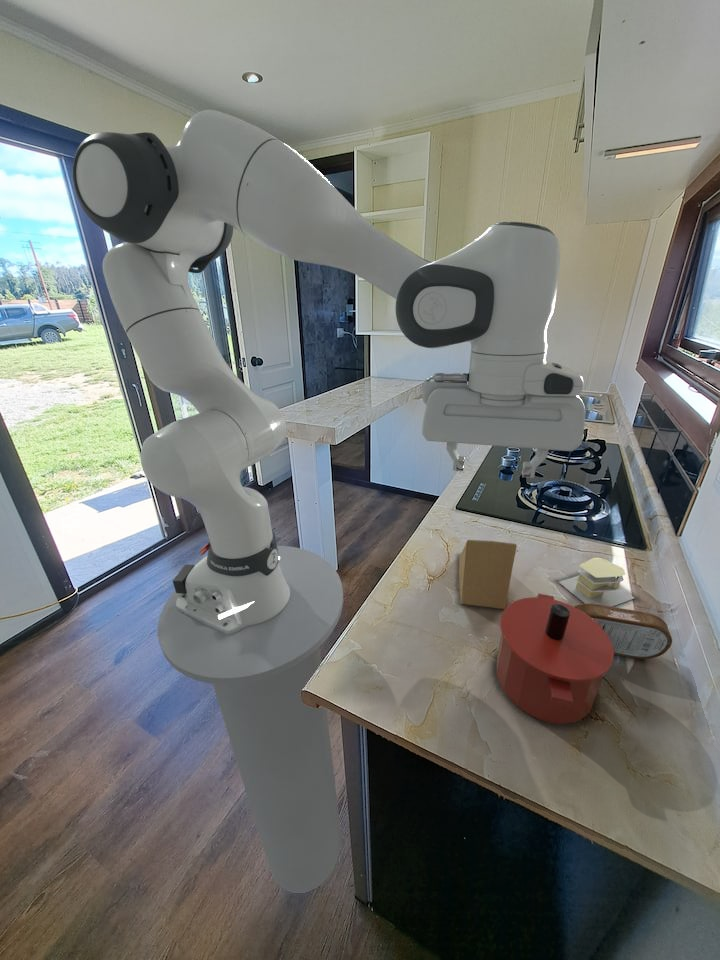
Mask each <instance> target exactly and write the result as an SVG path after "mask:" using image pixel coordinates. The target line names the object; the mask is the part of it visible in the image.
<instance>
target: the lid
mask: <svg viewBox="0 0 720 960" xmlns="http://www.w3.org/2000/svg"><path fill="white" fill-rule="evenodd" d="M499 623H500V624H499V626H500V632H501V633H502V636H503V638H504V640H505V642H506V644H507V645H508V647H509V648H510V649H511V651H512V652H513V653H514V654H515V655H516V656H517V657H518V658H519V659H520V660H521V661H523V662H524V663H525V664H527V665H528V666H529V667H531V668H533V669H534V670H536V671H538V672H540V673H542V674H544V675H547V676H549V677H552V678H555V679H559V680H563V681H569V682H587V681H592V680H595V679H598V678H600V677H601V676H603V677H604V676H605V675H606V674H607V673H608V672H609V670H610V669H611V668H612V666H613V662H614V658H615V654H614V650H613V646H612V643H611V641H610V639H609V637H608V635H607V634H606V632H605V631H604V630H603V629H602V627H601V626H600V625H599V624H598V623H597V622H596V621H595V620H593V619H592V618H591V617H590V616H588V615H587V614H585V613H584V612H582V611H581V610H579V609H577V608H575V607H573V605H571V604H568V603H566V602H563V601H560V600H557V599H554V600H553V599H549V598H540V597H537V596H536V597H535V596H534V597H532V596H531V597H524V598H520V599H518V600H515V601H513V602H511V603H510V604H509V605H508V606H506V607H505V609H503V612H502V614H501V617H500V621H499Z"/></svg>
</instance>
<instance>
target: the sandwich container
mask: <svg viewBox="0 0 720 960" xmlns="http://www.w3.org/2000/svg"><path fill="white" fill-rule="evenodd" d="M517 547H518V545H517V544H516V543H513V542H505V541H497V540H496V541H494V540H481V539H467V540H466V543H465V545H464V548H463V550H462V551H461V552H460V555H459V558H458V559H459V560H458V561H459V562H458V564H459V565H458V576H459V580H458V581H459V595H460V597H459V598H460V604H461V605H466V606H467V605H469V606H474V607H482V608H483V607H484V608H492V609H500V610H505V609H506V604H507V599H508V595H509V588H510V583H511V578H512V573H513V568H514V562H515V557H516V552H517Z"/></svg>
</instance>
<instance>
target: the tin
mask: <svg viewBox="0 0 720 960" xmlns="http://www.w3.org/2000/svg"><path fill="white" fill-rule="evenodd" d="M572 606H573V605H572ZM573 607H575V608H577V609H579V610H581V611H582V612H584V613H585V614H587V615H588V616H590V617H591V618H592V619H593V620H595V621H596V622H597V623H598V624H599V625H600V626H601V627H602V629H603V630H604V631H605V632H606V634H607V635H608V637H609V639H610V641H611V643H612V646H613V650H614V655H616V656H621V657H626V658H632V659H637V660H651V659H655V658H658V657H660V656H663V655H664V654H666V653H667V652H668V651H669V649H670V648H671V647H672V644H673V637H672V635H671V632H670V631H669V627H668V624H667V623H666V622H665V620H664V619H663V618H661V617H659V616H658V615H656V614H653V613H650V612H646V611H641V610H636V609H635V610H634V609H628V608H623V607H617V606H612V607H611V606H606V605H600V604H594V603H580V604H576V605H574V606H573Z"/></svg>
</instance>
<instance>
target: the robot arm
mask: <svg viewBox="0 0 720 960" xmlns="http://www.w3.org/2000/svg"><path fill="white" fill-rule="evenodd" d="M72 162H73V163H72V182H73V183H72V184H73V187H74V192H75V195H76V198H77V200H78V203H79V205H80V207H81V208H82V211H83V212H84V214H86V216H87V217H88V218H89V219H90V220H91V221H92V222H93V223H94V224H95V225H96V226H97V227H99V228H100V229H101V230H102V231H104V232H105V233H107V234H109V235H111V236H113V237H115V238H116V239H118V240H120V241H121V242H120V243H117V244H116V245H114V246H113V247H111V248H109V250H108V251H107V252H106V254H105V255H104V257H103V260H102V273H103V277H104V281H105V284H106V287H107V290H108V294H109V296H110V299H111V302H112V304H113V308H114V309H115V312H116V315H117V316H118V319H119V322H120V324H121V326H122V327H123V330H124V332H125V334H126V336H127V337H128V340H129V342H130V343H131V346H132V348H133V350H134V351H135V353H136V355H137V357H138V359H139V362H140V364H141V365H142V367H143V369H144V371H145V373H146V375H147V377H148V379H149V380H150V382H151V383H152V384H153V385H154V386H156V387H157V388H158V389H159V390H161V391H163V392H166V393H170V394H173V395H177V396H180V397H181V398H183V399H185V400H186V401H187V402H188V403H189V404H191V405H192V407H194V409H195V410H196V411H197V412H198V413H195V414H193V415H190V416H188V417H183V418H181V419H178V420H175V421H172V422H170V423H168V424H167V425H165V426H164V427H161V428H160V429H159V430H157V431H155V432H154V433H152V434H151V435H150V436H148V437H147V438H145V439H144V441H143V443H142V446H141V451H140V452H141V453H140V463H141V467H142V471H143V473H144V475H145V476H146V478H147V480H148V482H150V484H151V485H153V486H154V487H155V489H157V490H158V491H160V492H161V493H163V494H165V495H167V496H170V497H174V498H179V499H182V500H185V501H187V502H188V503H190V504H191V505H192V506H193V507H194V508H195V509H196V510H197V511H198V513H199V514H200V518H202V521H203V524H204V527H205V531H206V533H207V537H208V541H207V542H206V544H205V545H204V546H203V547H202V548H201V549H200V550H199V552H201V553H200V556H201V557H203V555H204V554H206V553H207V555H205V556H204V557H203V558H201V560H199V561H198V562H197V563H196V564H183V567H182V568H181V569H180V570H179V572H178V573H177V575H176V576H175V577H174V578H173V580H172V584H173V587H174V591H176V593H180V595H179V597H178V599H177V601H176V609H177V610H179V611H180V612H182V613H184V614H186V615H188V616H190V617H192V618H194V619H196V620H198V621H200V622H202V623H204V624H206V625H208V626H210V627H212V628H214V629H216V630H218V631H220V632H222V633H224V634H226V635H230V634H233V633H236V632H238V631H239V630H241V629H243V628H245V627H248V626H252V625H256V624H259V623H262V622H265V621H267V620H269V619H271V618H273V617H274V616H276V615H277V614H278V613H279V612H281V611H282V610H283V609H284V607H285V606H286V605H287V603H288V601H289V598H290V587H289V585H288V584H287V582H286V580H285V578H284V576H283V573H282V571H281V568H280V565H279V562H278V560H280V556H278V548H277V546H278V543H277V538H276V534H275V532H274V531H273V528H272V522H271V516H270V510H269V509H270V508H269V504H268V500H267V499H266V498H265V496H264V495H263V494H262V493H261V492H259V491H258V490H257V489H254V488H252V487H247V486H243V485H242V483H241V473H242V471H244V470H246V469H248V468H249V467H251V466H253V465H255V464H257V463H259V462H261V461H262V460H264V459H266V458H268V457H269V456H270V455H271V454H273V453H274V451H276V450H277V449H279V447H280V446H282V443H283V442H284V441H285V439H286V436H287V423H286V419H285V417H284V414H283V413H282V411H281V410H280V408H279V407H278V406H277V405H276V404H275V403H274V402H272V401H271V400H269V399H266V398H264V397H262V396H260V395H258V394H257V393H255V392H254V391H253V390H251V389H250V388H249V387H248V386H247V385H246V384H245V383H244V382H243V381H242V380H241V379H240V377H238V375H236V374H235V372H234V370H232V368H231V367H230V366H229V364H228V363H227V361H226V360H225V358H224V357H223V355H222V353H221V351H220V349H219V347H218V345H217V343H216V341H215V339H214V338H213V335H212V333H211V331H210V329H209V327H208V324H207V323H206V321H205V320H206V319H204V316H203V314H202V312H201V310H200V308H199V306H198V303H197V302H196V299H195V297H194V295H193V293H192V290H191V288H190V284H189V279H188V276H189V273H191V274H201V273H202V272H204V271H205V270H206V269H207V267H208V266H209V264H210V263H212V262H213V261H215V260H217V259H218V258H219V257H221V256H222V255H223V253H225V251H226V250H227V249H228V247H229V246H230V244H231V241H232V239H233V234H234V229H235V230H237V231H238V232H240V233H241V234H242V235H244V236H245V237H247V238H249V239H250V240H251V241H253V242H254V243H256V244H258V245H259V246H261V247H263V248H265V249H267V250H269V251H270V252H273V253H276V254H278V255H280V256H282V257H285V258H288V259H291V260H292V261H293V260H294V261H298V262H301V263H302V262H303V263H307V264H313V265H320V266H327V267H331V268H335V269H339V270H343V271H347V272H349V273H352V274H354V275H355V276H358V277H360V278H361V279H362V280H365V281H366V282H368V283H369V284H371V285H373V286H374V287H375V288H377V289H379V290H381V291H382V292H383V293H385V294H386V295H389V296H390V297H392V298H393V299H395V317H396V322H397V325H398V328H399V329H400V332H401V333H402V334H403V336H404V337H405V338H406V339H407V340H409V341H410V342H411V343H413V344H414V345H416V346H419V347H421V348H426V349H432V350H433V349H435V350H436V349H443V348H447V347H449V346H452V345H453V346H454V345H458V344H462V343H467V342H468V343H470V346H471V347H470V358H469V369H468V373H465V372H464V373H463V372H462V373H461V372H460V373H456V372H455V373H444V372H437V373H434V374H433V375H431V376H429V377H427V378H426V379H425V380H424V382H423V384H422V391H421V398H422V401H423V403H424V404H425V409H424V414H423V419H422V426H421V434H422V436H423V438H424V439H425V440H426V441H427V442H439V443H446V451H447V452H448V454H449V456H450V458H451V460H452V461H453V463H452V471H453V472H464V468H465V458H466V456H461V455H459V453H458V450H457V448H458V444H463V445H464V444H467V445H477V446H478V445H479V446H492V447H494V446H495V447H505V448H522V449H533V450H534V453H535V455H534V456H533V457H532V459H531V460H530V461H523V463H522V469H521V477H522V478H527V479H534V478H535V475H536V469H537V468H538V467H539V466H540V465H542V463H543V462H544V461H545V460H546V459H547V458H548V455H549V451H561V452H574V451H575V450H576V449H577V448H579V447H580V446H581V445H582V442H583V438H584V432H585V425H586V424H585V423H586V407H585V404H584V402H583V400H582V398H581V397H580V396H579V395H581V393H582V392H583V389H584V386H585V382H584V378H583V376H582V375H581V374H580V373H579V372H578V371H577V370H575V369H573V368H570V367H568V366H565V365H563V364H562V365H561V364H559V363H556V362H552V361H549V360H546V358H547V352H548V341H547V340H548V339H547V329H548V326H549V323H550V320H551V318H552V316H553V314H554V310H555V305H556V300H557V299H556V298H557V292H558V285H559V276H560V265H561V264H560V263H561V260H560V259H561V249H560V242H559V240H558V238H557V236H556V235H555V233H553V231H552V230H550V229H549V228H548V227H545V226H542V225H540V224H536V223H530V222H525V221H509V222H508V221H503V222H497V223H494V224H491V225H490V226H489V227H487V229H486V230H485V231H484V232H482V234H481V235H480V236H478V237H476V239H474V240H473V241H471V242H470V243H468V244H467V245H465V246H464V247H462V248H460V249H458V250H457V251H455V252H452V253H450V254H448V255H446V256H443V257H442V258H440V259H437V260H434V261H432V262H431V261H429V260H427V259H425V258H423V257H421V256H419V255H417V254H416V253H414V252H413V251H411V250H409V249H408V248H407V247H405V246H404V245H402V244H400V243H399V242H397V241H396V240H394V239H392V238H391V237H390V236H388V235H386V234H385V233H383V232H382V231H380V230H379V229H378V228H376V227H375V226H374V225H373V224H372V223H370V221H368V220H367V219H366V218H365V217H364V216H363V215H362V214H361V213H360V211H358V210H357V209H356V208H355V207H354V206H353V205H352V204H351V203H350V202H349V200H347V199H346V198H345V196H343V194H342V193H341V192H340V191H339V190H338V189H337V188H336V187H335V186H334V185H333V184H332V183H331V182H330V181H329V180H328V179H327V178H326V177H325V175H323V174H322V173H321V172H320V170H319V169H317V168H316V167H315V166H314V165H313V164H312V163H311V162H309V161H308V160H307V159H306V158H305V157H304V156H302V155H301V154H299V152H297V151H296V150H295V149H293V148H292V147H290V146H289V145H288V144H286V143H285V142H283V141H281V140H280V139H278V138H277V137H275V136H273V135H272V134H270V133H269V132H267V131H265V130H263V129H262V128H260V127H258V126H256V125H254V124H252V123H249V122H248V121H246V120H243V119H242V118H238V117H236V116H233V115H230V114H228V113H225V112H222V111H219V110H215V109H204V110H201V111H198V112H196V113H195V114H194V115H192V116H191V117H190V118H189V119H188V121H187V122H186V123H185V125H184V128H183V129H182V133H181V137H180V139H179V141H178V142H177V143H176V144H175V145H172V146H166V145H165V144H164V143H163V141H162V140H161V139H160V138H159V137H158V135H156V134H155V133H153V132H148V131H147V132H145V131H144V132H136V133H124V132H115V131H113V132H111V131H104V132H103V131H102V132H96V133H93V134H91V135H89V136H87V137H86V138H85V139H84V140H82V142H81V143H80V144H79V145H78V148H77V149H76V151H75V154H74V158H73V161H72Z"/></svg>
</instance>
